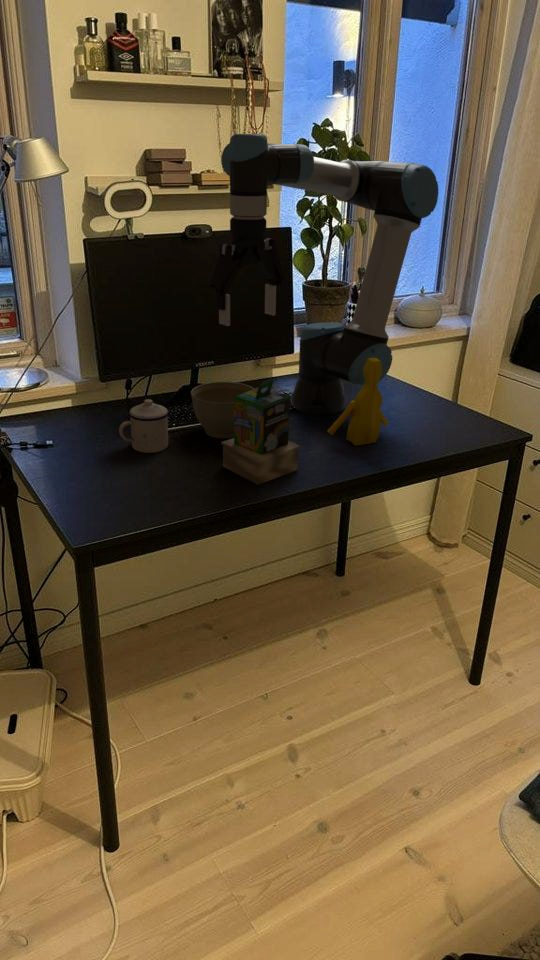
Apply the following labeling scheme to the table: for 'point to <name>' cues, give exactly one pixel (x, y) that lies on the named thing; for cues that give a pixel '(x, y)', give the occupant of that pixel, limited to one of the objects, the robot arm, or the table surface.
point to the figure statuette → (364, 408)
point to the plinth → (260, 461)
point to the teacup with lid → (147, 427)
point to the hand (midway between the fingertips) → (248, 319)
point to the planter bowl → (217, 406)
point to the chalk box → (261, 419)
